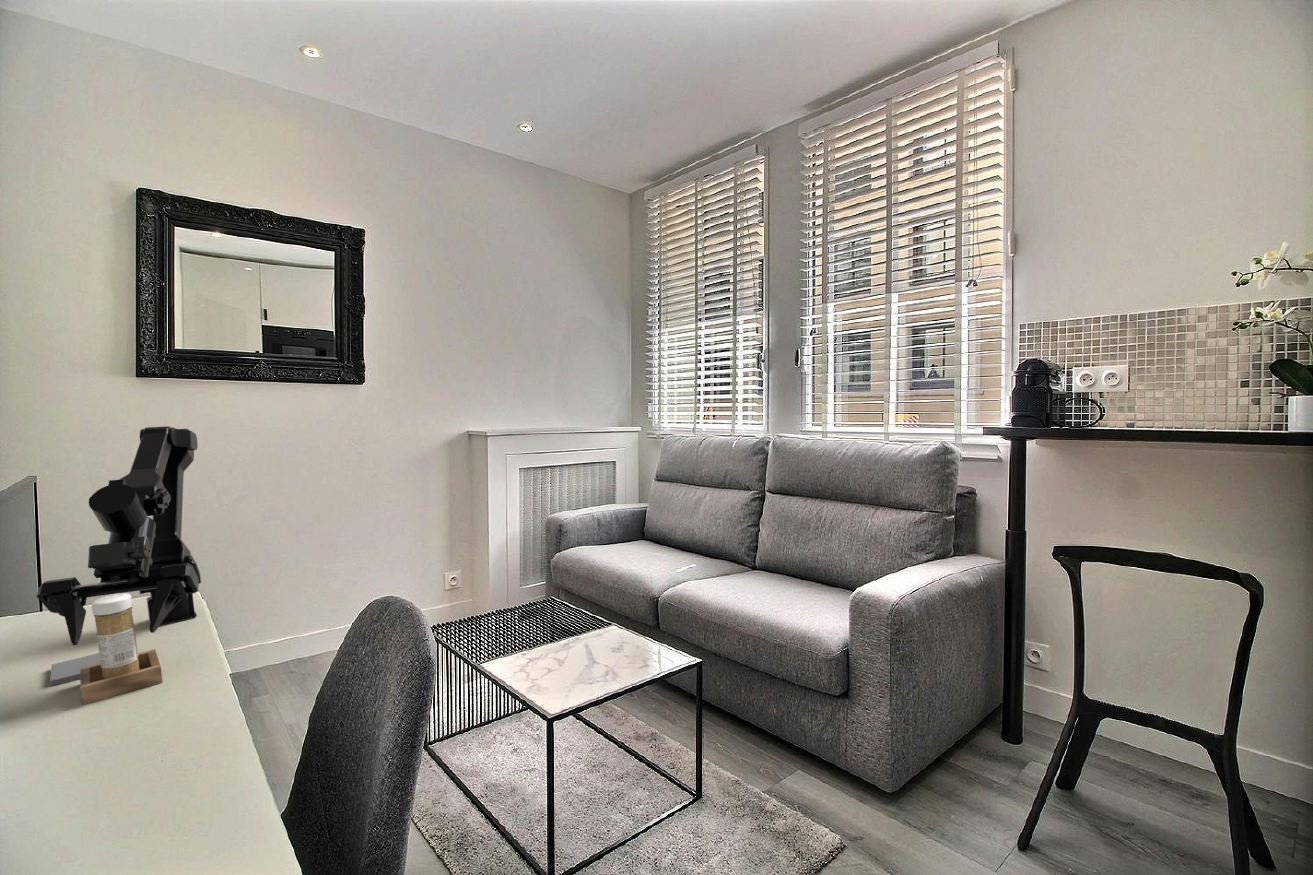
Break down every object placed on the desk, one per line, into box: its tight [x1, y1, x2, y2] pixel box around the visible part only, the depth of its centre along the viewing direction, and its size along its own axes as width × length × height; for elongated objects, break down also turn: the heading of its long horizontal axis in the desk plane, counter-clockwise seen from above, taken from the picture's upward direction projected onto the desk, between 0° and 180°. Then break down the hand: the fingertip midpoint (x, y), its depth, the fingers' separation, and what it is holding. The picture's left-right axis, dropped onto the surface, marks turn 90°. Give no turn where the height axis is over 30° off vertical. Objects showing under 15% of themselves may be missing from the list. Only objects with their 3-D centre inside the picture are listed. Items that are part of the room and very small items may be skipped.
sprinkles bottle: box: [91, 592, 139, 680], centre depth 95 cm, size 5×5×13 cm
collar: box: [79, 648, 164, 705], centre depth 96 cm, size 9×9×2 cm
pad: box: [49, 652, 100, 687], centre depth 102 cm, size 10×8×1 cm
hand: (113, 637), depth 94 cm, fingers open, 9 cm apart
